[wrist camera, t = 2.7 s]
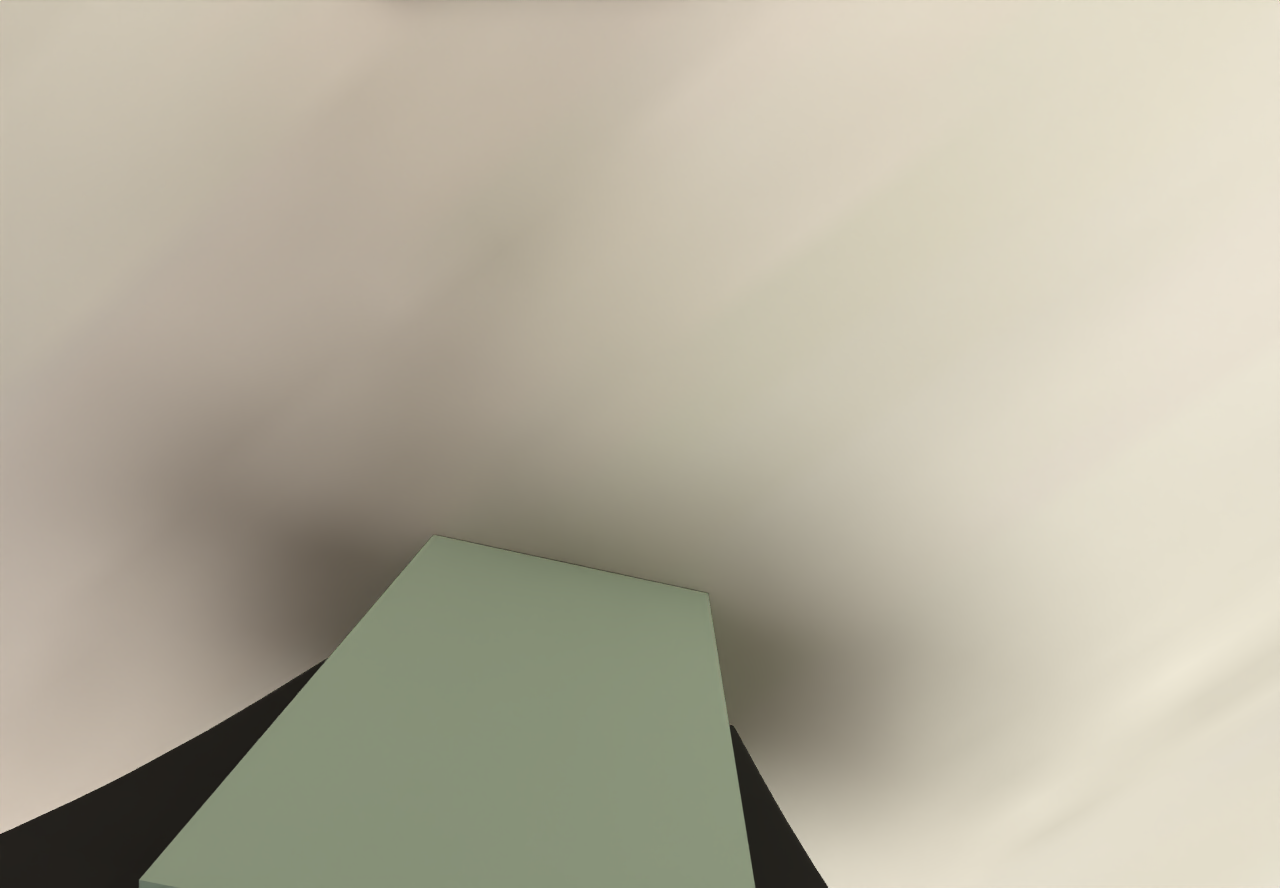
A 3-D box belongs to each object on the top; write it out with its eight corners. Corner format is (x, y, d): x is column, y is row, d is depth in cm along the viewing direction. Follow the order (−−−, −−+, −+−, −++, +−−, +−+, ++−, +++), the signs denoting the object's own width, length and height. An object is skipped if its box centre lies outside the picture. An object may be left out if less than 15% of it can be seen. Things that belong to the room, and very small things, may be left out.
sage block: (433, 534, 10) (138, 880, 4) (708, 593, 10) (773, 1003, 5) (400, 763, 11) (131, 1276, 6) (647, 813, 11) (637, 1364, 6)
